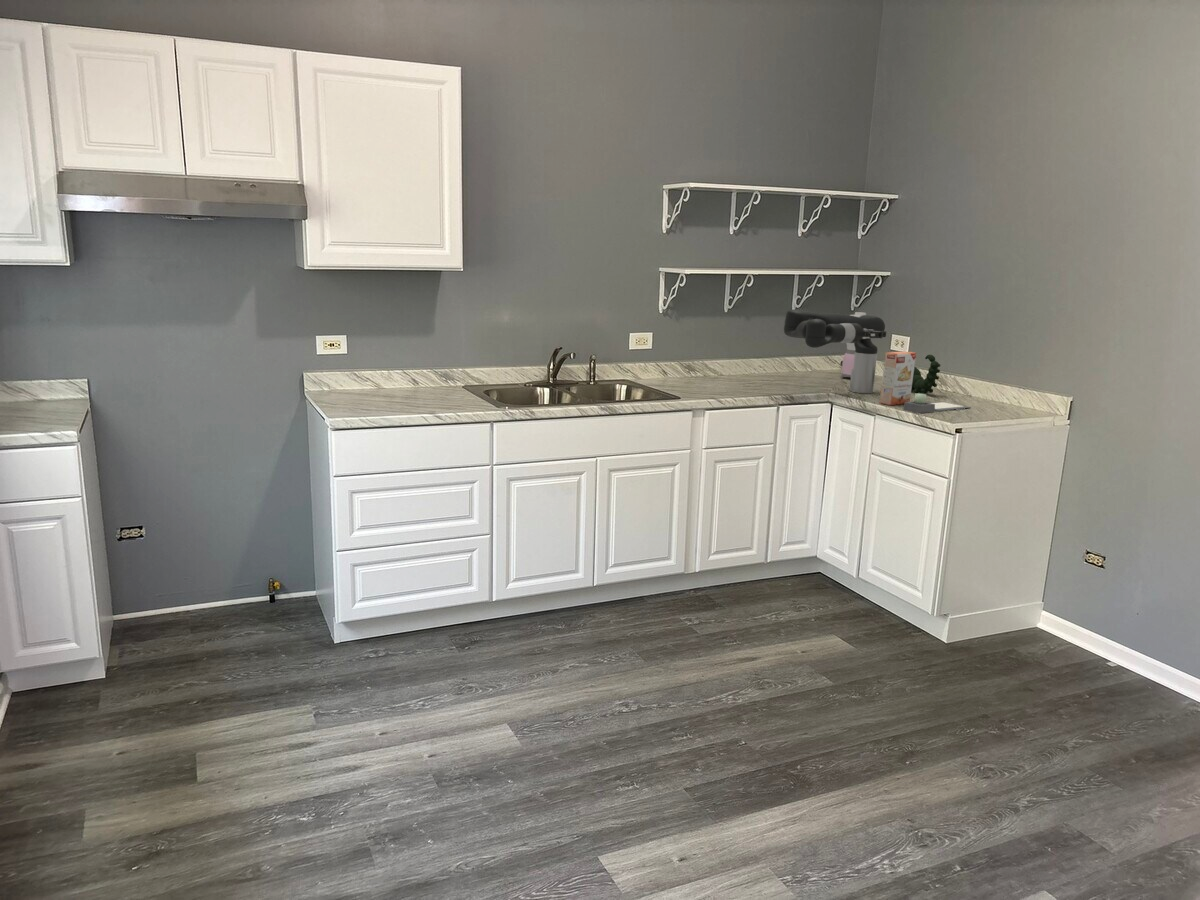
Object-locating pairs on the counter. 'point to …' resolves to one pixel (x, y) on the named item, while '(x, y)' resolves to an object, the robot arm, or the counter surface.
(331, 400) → the counter surface
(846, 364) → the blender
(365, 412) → the counter surface
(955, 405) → the mat
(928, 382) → the toy figurine
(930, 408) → the grey square holder
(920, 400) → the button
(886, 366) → the cracker box
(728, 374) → the counter surface
